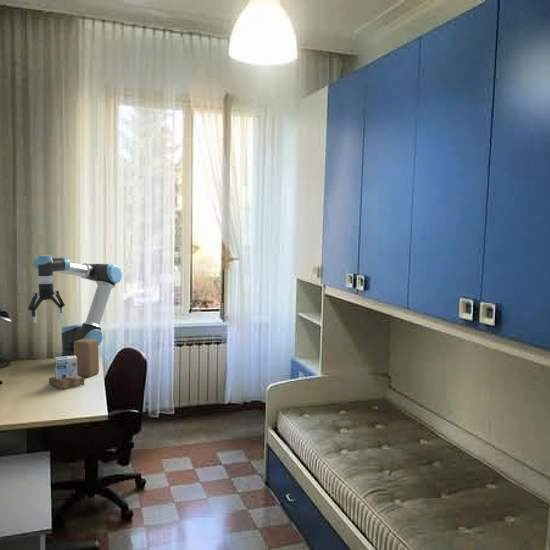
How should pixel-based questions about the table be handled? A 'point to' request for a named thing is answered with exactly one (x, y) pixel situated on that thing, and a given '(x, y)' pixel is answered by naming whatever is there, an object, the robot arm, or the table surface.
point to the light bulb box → (66, 367)
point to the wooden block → (87, 357)
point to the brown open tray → (66, 382)
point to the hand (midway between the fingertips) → (47, 320)
